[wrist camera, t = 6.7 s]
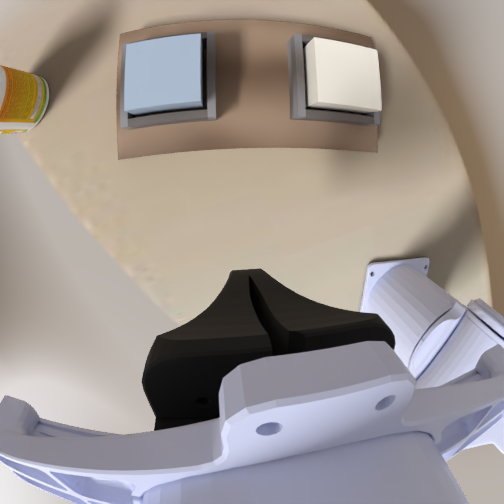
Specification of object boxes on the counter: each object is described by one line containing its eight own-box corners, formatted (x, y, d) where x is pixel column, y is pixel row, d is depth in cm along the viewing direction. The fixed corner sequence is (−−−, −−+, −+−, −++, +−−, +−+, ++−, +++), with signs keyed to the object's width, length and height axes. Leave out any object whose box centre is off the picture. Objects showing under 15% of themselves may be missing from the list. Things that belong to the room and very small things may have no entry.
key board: (365, 151, 21) (391, 154, 17) (127, 158, 19) (107, 161, 15) (359, 43, 17) (383, 29, 13) (127, 42, 15) (111, 24, 11)
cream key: (364, 113, 17) (381, 110, 14) (305, 107, 16) (318, 101, 14) (360, 58, 15) (377, 50, 13) (302, 49, 15) (314, 37, 12)
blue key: (203, 107, 15) (200, 100, 13) (136, 115, 15) (124, 110, 13) (202, 47, 14) (200, 33, 12) (137, 55, 13) (126, 44, 11)
